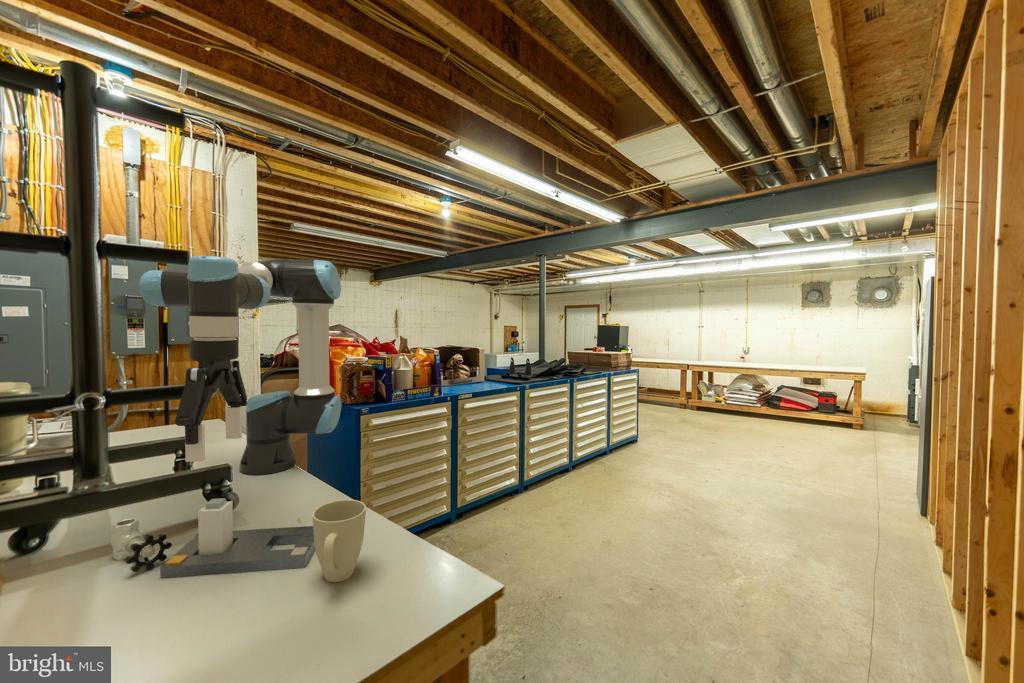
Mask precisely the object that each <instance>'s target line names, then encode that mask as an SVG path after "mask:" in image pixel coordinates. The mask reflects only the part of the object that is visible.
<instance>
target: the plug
mask: <svg viewBox="0 0 1024 683" xmlns="http://www.w3.org/2000/svg"><path fill="white" fill-rule="evenodd" d="M233 503H234V502H233V501H232V500H231V501H227V498H225V497H224V498H220V497H219V498H211V499H210V500H209V501H207V502H206V503H205V504H204V505H205V506H204V507H202V508H201V509H199V510H198V514H197V515H198V516H197V517H198V521H197V522H198V523H197V524H198V534H199V555H209V554H224V553H225V552H226V551H227V550H228V549H229V548H230V547H231V546H232V545H233V531H234V528H233V527H234V526H233V521H234V520H233V517H234V516H233V514H234V513H233V511H234V508H233V506H234V505H233Z"/></svg>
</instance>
